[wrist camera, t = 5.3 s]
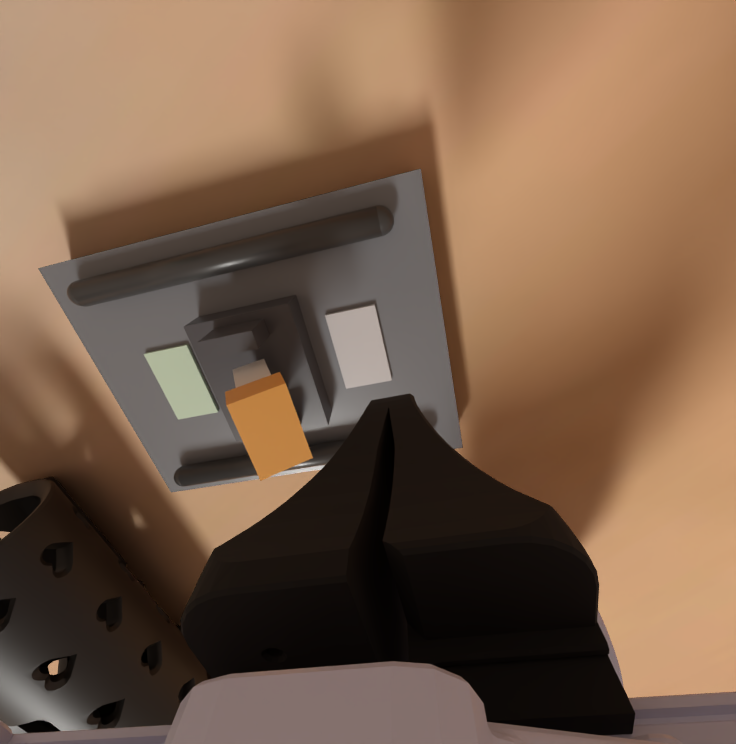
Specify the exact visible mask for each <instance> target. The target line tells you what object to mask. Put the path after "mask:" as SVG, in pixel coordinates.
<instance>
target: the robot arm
mask: <svg viewBox="0 0 736 744" xmlns="http://www.w3.org/2000/svg"><path fill="white" fill-rule="evenodd" d="M598 595H599V582H598V576H597V570H596V569H595V567H594V565H593V563H592V561H591V559H590V557H589V556H588V554H587V552H586V550H585V549H584V548H583V546H582V545H581V543H580V542H579V540H578V539H577V538H576V536H575V535H574V534H573V532H572V531H571V529H570V528H569V527H568V525H567V524H566V523H565V522H564V521H563V519H562V518H561V517H560V516H559V514H558V513H557V512H556V511H555V510H554V509H553V507H551V506H550V505H547V504H545V503H543V502H540V501H538V500H536V499H534V498H531V497H529V496H527V495H524V494H522V493H520V492H517V491H515V490H513V489H511V488H509V487H508V486H506V485H504V484H502V483H500V482H498V481H497V480H495V479H494V478H492V477H491V476H489V475H487V474H486V473H484V472H483V471H481V470H480V469H478V468H477V467H475V466H474V465H473V464H471V463H470V462H469V461H467V460H466V459H465V458H464V457H462V456H461V455H460V454H459V453H458V452H457V451H455V450H454V449H453V448H452V447H451V446H450V445H449V444H448V443H447V442H446V441H445V440H444V439H443V438H442V437H441V436H440V435H439V434H438V433H437V431H436V430H435V429H434V428H433V427H432V426H431V424H430V423H429V422H428V420H427V419H426V418H425V416H424V415H423V414H422V412H421V410H420V409H419V407H418V405H417V403H416V401H415V398H414V396H413V395H412V394H410V393H409V394H404V395H398V396H393V397H387V398H381V399H376V400H371V401H370V403H369V404H368V406H367V407H366V409H365V411H364V412H363V414H362V416H361V417H360V419H359V421H358V422H357V424H356V425H355V427H354V428H353V430H352V431H351V433H350V434H349V436H348V437H347V439H346V440H345V441H344V443H343V444H342V445H341V447H340V448H339V449H338V451H337V452H336V453H335V454H334V456H333V457H332V458H331V459H330V460H329V462H328V463H327V464H326V465H325V466H324V467H323V468H322V469H321V470H320V471H319V472H318V473H317V474H316V475H315V476H314V477H313V478H312V479H311V480H310V481H309V482H308V483H307V484H306V485H305V486H303V487H302V488H301V489H300V490H299V491H298V492H297V493H295V494H294V495H293V496H292V497H291V498H290V499H289V500H287V501H286V502H285V503H283V504H282V505H281V506H280V507H278V508H277V509H276V510H274V511H273V512H272V513H270V514H269V515H267V516H266V517H265V518H263V519H262V520H260V521H259V522H257V523H256V524H254V525H253V526H251V527H250V528H248V529H247V530H245V531H243V532H242V533H240V534H239V535H237V536H235V537H234V538H232V539H230V540H229V541H227V542H225V543H224V544H222V545H220V546H219V547H217V548H215V549H214V550H213V552H212V554H211V556H210V558H209V560H208V562H207V564H206V565H205V567H204V569H203V572H202V574H201V576H200V578H199V580H198V582H197V584H196V586H195V588H194V591H193V593H192V595H191V597H190V599H189V601H188V603H187V605H186V607H185V610H184V612H183V615H182V617H181V620H180V622H181V632H182V635H183V637H184V639H185V641H186V643H187V644H188V646H189V648H190V649H191V651H192V652H193V653H194V655H195V656H196V658H197V659H198V660H199V662H200V663H201V664H202V666H203V667H204V668H205V670H206V671H207V672H208V674H209V675H210V676H211V678H212V679H209V680H205V681H202V682H201V683H199V684H197V685H196V686H194V687H193V688H192V689H191V691H190V692H189V693H188V694H187V695H186V697H185V698H184V699H183V700H182V702H181V703H180V705H179V708H178V710H177V713H176V715H175V718H174V720H173V723H172V725H160V726H143V727H125V728H108V729H91V730H74V731H57V732H40V733H23V734H12V730H11V729H10V728H9V727H8V726H7V725H6V724H5V723H3V722H2V721H1V720H0V744H736V692H722V693H705V694H688V695H671V696H654V697H637V698H628V696H627V694H626V692H625V690H624V688H623V681H622V676H621V671H620V667H619V664H618V660H617V657H616V654H615V651H614V648H613V645H612V642H611V640H610V637H609V634H608V632H607V629H606V627H605V624H604V622H603V620H602V617H601V615H600V613H599V611H598Z"/></svg>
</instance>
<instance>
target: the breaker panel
mask: <svg viewBox="0 0 736 744" xmlns="http://www.w3.org/2000/svg"><path fill="white" fill-rule="evenodd" d="M38 269H39V271H40V272H41V274H42V276H43V277H44V279H45V281H46V282H47V284H48V286H49V287H50V289H51V291H52V292H53V294H54V296H55V297H56V299H57V301H58V303H59V304H60V306H61V308H62V309H63V311H64V313H65V314H66V316H67V318H68V319H69V321H70V323H71V324H72V326H73V328H74V330H75V331H76V333H77V335H78V336H79V338H80V340H81V341H82V343H83V345H84V346H85V348H86V350H87V351H88V353H89V355H90V356H91V358H92V360H93V362H94V363H95V365H96V367H97V368H98V370H99V372H100V373H101V375H102V377H103V378H104V380H105V382H106V383H107V385H108V387H109V388H110V390H111V392H112V394H113V395H114V397H115V399H116V400H117V402H118V404H119V405H120V407H121V409H122V410H123V412H124V414H125V415H126V417H127V419H128V421H129V422H130V424H131V426H132V427H133V429H134V431H135V432H136V434H137V436H138V437H139V439H140V441H141V442H142V444H143V446H144V447H145V449H146V451H147V453H148V454H149V456H150V458H151V459H152V461H153V463H154V464H155V466H156V468H157V469H158V471H159V473H160V474H161V476H162V478H163V479H164V481H165V483H166V485H167V486H168V488H169V490H170V491H171V492H177V491H183V490H190V489H196V488H203V487H209V486H216V485H222V484H229V483H235V482H242V481H248V480H255V479H259V476H258V474H257V472H256V470H255V468H254V465H253V463H252V461H251V459H250V457H249V454H248V452H247V450H246V448H245V445H244V443H243V441H242V439H241V437H240V434H239V432H238V430H237V428H236V426H235V423H234V421H233V419H232V417H231V415H230V412H229V410H228V408H227V406H226V398H225V392H226V391H229V390H231V389H234V388H236V387H235V381H234V375H233V369H236V368H238V367H241V366H244V365H247V364H250V363H253V362H255V361H258V360H261V359H264V360H265V362H266V365H267V367H268V369H269V371H270V373H271V375H272V374H275V373H278V372H280V373H281V375H282V377H283V379H284V381H285V383H286V386H287V388H288V391H289V394H290V396H291V399H292V402H293V405H294V407H295V410H296V413H297V416H298V418H299V421H300V424H301V427H302V429H303V432H304V435H305V438H306V440H307V443H308V446H309V449H310V451H311V454H312V457H313V458H312V459H309V460H307V461H305V462H302V463H300V464H298V465H295V466H293V467H291V468H289V469H286V470H284V471H282V472H279V473H277V474H275V475H273V476H270V477H274V476H281V475H287V474H294V473H300V472H307V471H313V470H320V469H322V468H323V467H324V466H325V465H326V464H327V463H328V462H329V460H330V459H331V458H332V457H333V456H334V454H335V453H336V452H337V451H338V449H339V448H340V447H341V445H342V444H343V443H344V441H345V440H346V439H347V437H348V436H349V434H350V433H351V431H352V430H353V428H354V427H355V425H356V424H357V422H358V421H359V419H360V417H361V416H362V414H363V412H364V411H365V409H366V407H367V406H368V404H369V403H370V401H371V400H376V399H381V398H387V397H393V396H398V395H404V394H409V393H410V394H412V395H413V396H414V398H415V401H416V403H417V405H418V407H419V409H420V410H421V412H422V414H423V415H424V416H425V418H426V419H427V420H428V422H429V423H430V424H431V426H432V427H433V428H434V429H435V430H436V431H437V433H438V434H439V435H440V436H441V437H442V438H443V439H444V440H445V441H446V442H447V443H448V444H449V445H450V446H451V447H452V448H453V449H456V448H463V446H462V439H461V432H460V426H459V419H458V413H457V406H456V399H455V393H454V386H453V379H452V373H451V366H450V360H449V353H448V346H447V340H446V333H445V326H444V320H443V313H442V307H441V300H440V293H439V287H438V280H437V273H436V267H435V260H434V254H433V247H432V240H431V234H430V227H429V220H428V214H427V207H426V201H425V194H424V187H423V181H422V174H421V169H418V170H414V171H410V172H406V173H402V174H398V175H395V176H391V177H387V178H383V179H379V180H375V181H372V182H368V183H364V184H360V185H356V186H352V187H349V188H345V189H341V190H337V191H333V192H329V193H326V194H322V195H318V196H314V197H310V198H306V199H302V200H299V201H295V202H291V203H287V204H283V205H279V206H276V207H272V208H268V209H264V210H260V211H256V212H253V213H249V214H245V215H241V216H237V217H233V218H230V219H226V220H222V221H218V222H214V223H210V224H207V225H203V226H199V227H195V228H191V229H187V230H184V231H180V232H176V233H172V234H168V235H164V236H160V237H157V238H153V239H149V240H145V241H141V242H137V243H134V244H130V245H126V246H122V247H118V248H114V249H111V250H107V251H103V252H99V253H95V254H91V255H88V256H84V257H80V258H76V259H72V260H68V261H65V262H61V263H57V264H53V265H49V266H45V267H42V268H38Z"/></svg>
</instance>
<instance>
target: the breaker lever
mask: <svg viewBox="0 0 736 744" xmlns="http://www.w3.org/2000/svg"><path fill="white" fill-rule="evenodd" d="M233 375H234V381H235V387H236V388H234V389H231V390H229V391H226V392H225V398H226V406H227V408H228V410H229V412H230V415H231V417H232V419H233V421H234V423H235V426H236V428H237V430H238V432H239V434H240V437H241V439H242V441H243V443H244V445H245V448H246V450H247V452H248V454H249V457H250V459H251V461H252V463H253V465H254V468H255V470H256V472H257V474H258V476H259V479H260V481H261V480H263V479H266V478H268V477H270V476H273V475H275V474H277V473H279V472H282V471H284V470H286V469H289V468H291V467H293V466H295V465H298V464H300V463H302V462H305V461H307V460H309V459H312V458H313V457H312V454H311V451H310V449H309V446H308V443H307V440H306V438H305V435H304V432H303V429H302V427H301V424H300V421H299V418H298V416H297V413H296V410H295V407H294V405H293V402H292V399H291V396H290V394H289V391H288V388H287V386H286V383H285V381H284V379H283V377H282V375H281V373H280V372H278V373H275V374H272V375H271V373H270V371H269V369H268V367H267V365H266V362H265V360H264V359H261V360H258V361H255V362H253V363H250V364H247V365H244V366H241V367H238V368H236V369H233Z"/></svg>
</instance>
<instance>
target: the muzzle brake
mask: <svg viewBox="0 0 736 744" xmlns="http://www.w3.org/2000/svg"><path fill="white" fill-rule="evenodd" d="M0 531H5V532H10V533H9V534H8V535H7V536H5V537H4V538H3V539H2V540H1V538H0V720H1V721H2V722H3V723H5V724H6V725H7V726H8V727H9V728H10V729H11V730H12V734H23V733H40V732H57V731H74V730H91V729H108V728H125V727H143V726H160V725H172V723H173V720H174V718H175V715H176V713H177V710H178V708H179V705H180V703H181V702H182V700H183V699H184V698H185V697H186V695H187V694H188V693H189V692H190V691H191V689H192V688H193V687H194V686H196V685H197V684H199V683H201V682H202V681H205V680H209V679H212V678H211V676H210V675H209V674H208V672H207V671H206V670H205V668H204V667H203V666H202V664H201V663H200V662H199V660H198V659H197V658H196V656H195V655H194V653H193V652H192V651H191V649H190V648H189V646H188V644H187V643H186V641H185V639H184V637H183V635H182V632H181V627H176V626H175V624H174V623H173V622H172V621H171V620H170V619H169V617H168V616H167V615H166V614H165V613H164V611H163V610H162V609H161V608H160V607H159V606H158V605H157V604H156V602H155V601H154V600H153V598H152V597H151V596H150V595H149V594H148V593H147V591H146V590H145V589H144V584H143V582H142V581H139V582H138V581H137V580H136V578H135V577H134V576H133V575H132V574H131V572H130V571H129V570H128V569H127V568H126V564H127V563H126V562H125V561H124V560H123V559H122V557H121V556H120V555H119V554H118V553H117V551H116V550H115V549H114V548H113V547H112V545H111V544H110V543H109V542H108V541H107V540H106V538H105V537H104V536H103V535H102V534H101V532H100V531H99V530H98V529H97V528H96V526H95V525H94V524H93V523H92V522H91V520H90V519H89V518H88V517H87V516H86V515H85V513H84V512H83V511H82V510H81V509H80V507H79V506H78V505H77V504H76V503H75V501H74V500H73V499H72V498H71V497H70V495H69V494H68V493H67V492H66V491H65V490H64V488H63V487H62V486H61V485H60V484H59V482H58V481H57V480H56V479H55V478H54V477H49V478H45V479H38V480H34V481H30V482H26V483H21V484H17V485H15V486H12V487H9V488H7V489H4V490H2V491H0ZM55 660H59V664H58V674H57V675H50V674H49V670H48V665H49V664H50V663H51V662H53V661H55Z"/></svg>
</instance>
